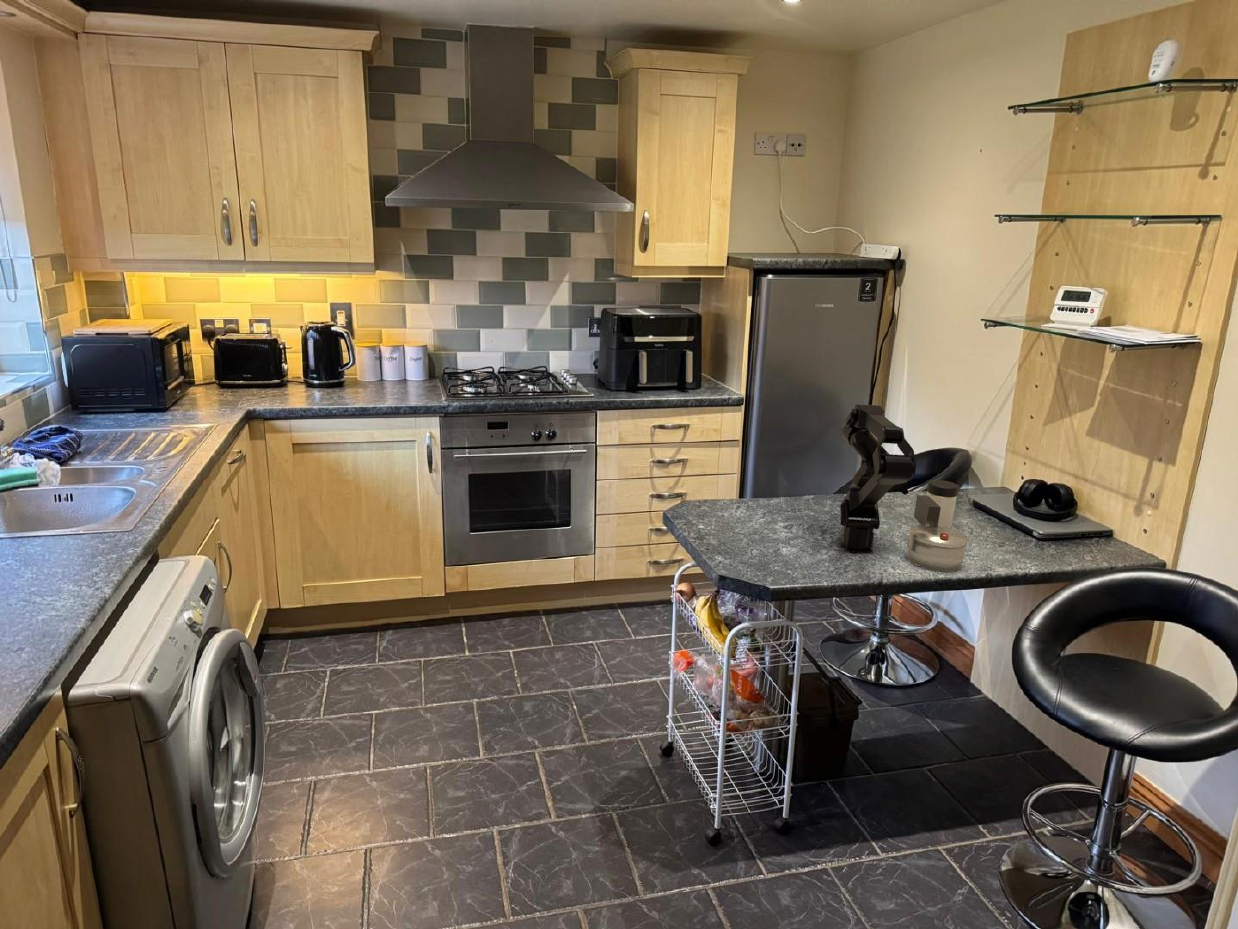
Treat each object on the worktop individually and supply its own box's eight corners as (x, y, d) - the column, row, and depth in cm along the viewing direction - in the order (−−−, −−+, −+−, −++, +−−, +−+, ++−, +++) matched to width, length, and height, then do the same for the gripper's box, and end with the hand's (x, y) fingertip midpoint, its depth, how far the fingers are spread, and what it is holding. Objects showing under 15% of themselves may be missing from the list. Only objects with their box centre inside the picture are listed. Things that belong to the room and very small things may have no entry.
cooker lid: (975, 549, 201) (980, 525, 199) (919, 546, 201) (923, 521, 199) (944, 519, 222) (948, 497, 220) (893, 516, 222) (897, 493, 220)
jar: (944, 519, 241) (951, 480, 238) (958, 530, 233) (965, 488, 230) (915, 519, 240) (921, 479, 237) (927, 529, 232) (934, 488, 229)
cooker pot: (956, 576, 201) (960, 552, 199) (901, 562, 207) (905, 539, 205) (970, 552, 217) (975, 530, 215) (919, 540, 223) (922, 519, 221)
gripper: (836, 458, 224) (871, 499, 228) (853, 482, 207) (890, 526, 210) (871, 432, 222) (905, 474, 225) (890, 454, 204) (927, 499, 207)
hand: (906, 493), depth 217 cm, fingers closed
